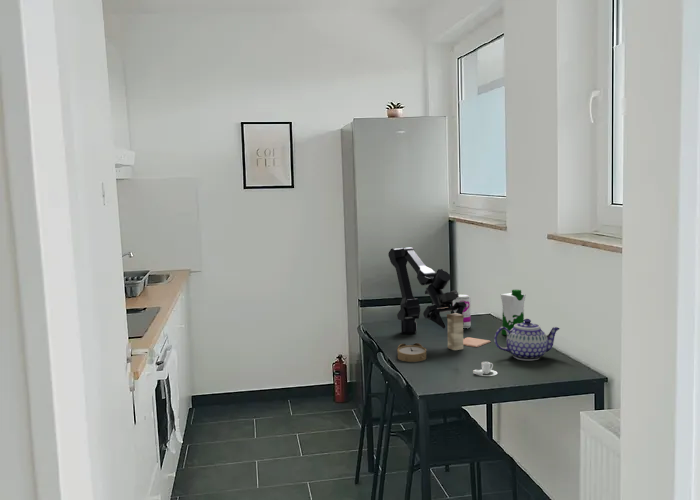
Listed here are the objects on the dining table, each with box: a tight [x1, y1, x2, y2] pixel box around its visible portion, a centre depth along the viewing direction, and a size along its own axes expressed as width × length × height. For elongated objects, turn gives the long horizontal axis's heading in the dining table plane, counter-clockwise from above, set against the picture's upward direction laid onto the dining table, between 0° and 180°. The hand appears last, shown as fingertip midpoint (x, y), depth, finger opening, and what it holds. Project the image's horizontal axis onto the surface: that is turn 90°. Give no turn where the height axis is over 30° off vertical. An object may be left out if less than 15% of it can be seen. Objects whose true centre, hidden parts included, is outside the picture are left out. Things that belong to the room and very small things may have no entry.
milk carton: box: [500, 289, 526, 336], centre depth 291 cm, size 9×9×20 cm
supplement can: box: [452, 293, 472, 329], centre depth 308 cm, size 8×8×15 cm
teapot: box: [493, 318, 561, 361], centre depth 254 cm, size 25×15×15 cm, turn 88°
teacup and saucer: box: [472, 361, 498, 377], centre depth 235 cm, size 9×8×4 cm
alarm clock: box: [396, 342, 427, 363], centre depth 259 cm, size 11×5×15 cm
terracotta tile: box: [463, 336, 491, 348], centre depth 279 cm, size 11×11×1 cm
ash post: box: [446, 313, 464, 351], centre depth 270 cm, size 5×5×14 cm
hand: (453, 326), depth 270 cm, fingers open, 9 cm apart
